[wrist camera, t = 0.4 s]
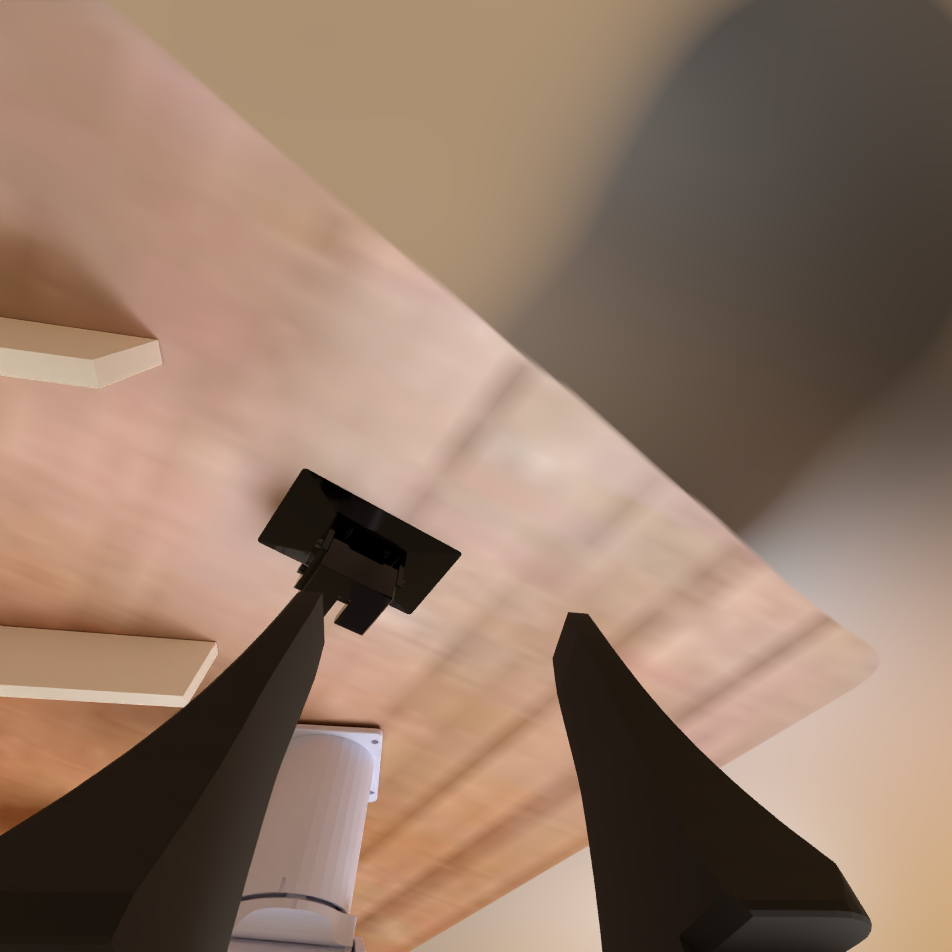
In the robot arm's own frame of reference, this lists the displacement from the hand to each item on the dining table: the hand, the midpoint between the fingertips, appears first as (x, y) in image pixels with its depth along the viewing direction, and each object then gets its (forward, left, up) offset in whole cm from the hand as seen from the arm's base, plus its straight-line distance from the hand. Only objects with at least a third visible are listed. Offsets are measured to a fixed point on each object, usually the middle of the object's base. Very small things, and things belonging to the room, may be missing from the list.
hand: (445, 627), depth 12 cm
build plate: (-5, +4, -10) cm, 12 cm away
